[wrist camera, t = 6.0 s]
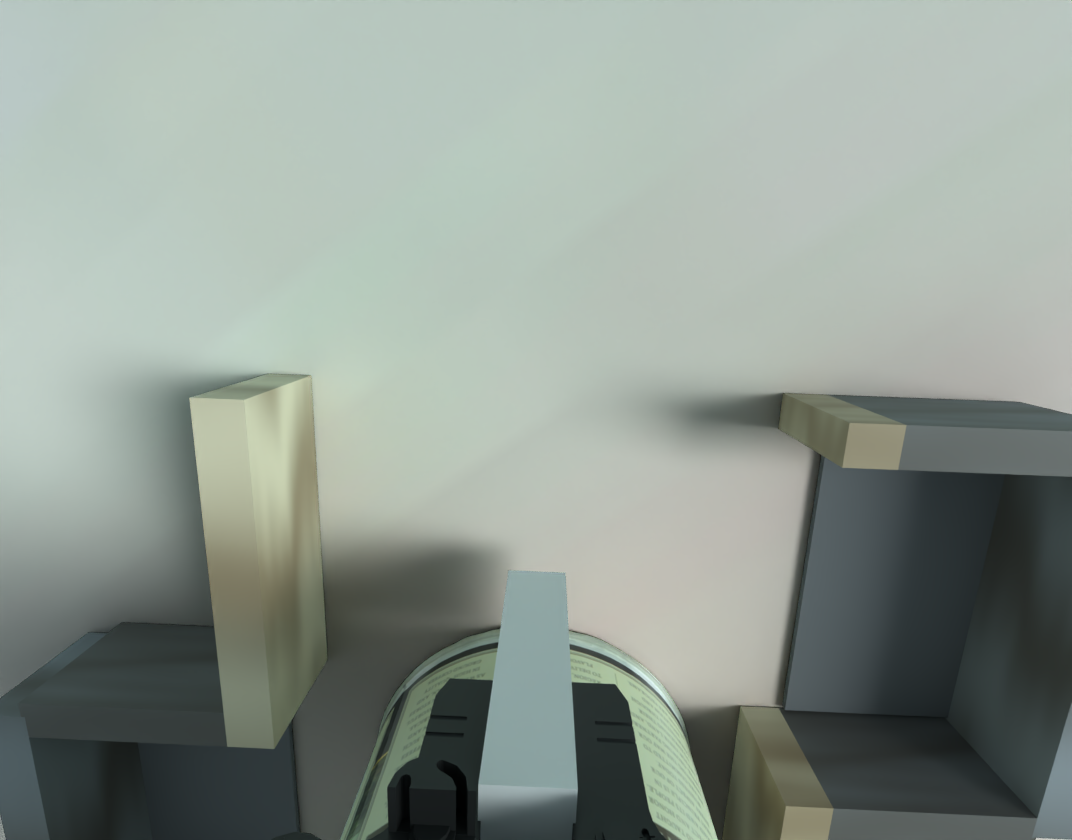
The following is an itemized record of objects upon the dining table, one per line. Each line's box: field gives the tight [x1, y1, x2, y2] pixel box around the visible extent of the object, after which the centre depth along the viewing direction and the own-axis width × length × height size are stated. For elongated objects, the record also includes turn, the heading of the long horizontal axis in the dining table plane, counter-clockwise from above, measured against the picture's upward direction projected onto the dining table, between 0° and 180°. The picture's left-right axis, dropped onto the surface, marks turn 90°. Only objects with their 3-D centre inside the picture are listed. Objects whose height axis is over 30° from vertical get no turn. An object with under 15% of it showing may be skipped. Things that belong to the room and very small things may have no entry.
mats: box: [138, 455, 1005, 840], centre depth 18 cm, size 17×26×1 cm, turn 88°
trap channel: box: [0, 374, 1072, 840], centre depth 16 cm, size 24×28×4 cm
